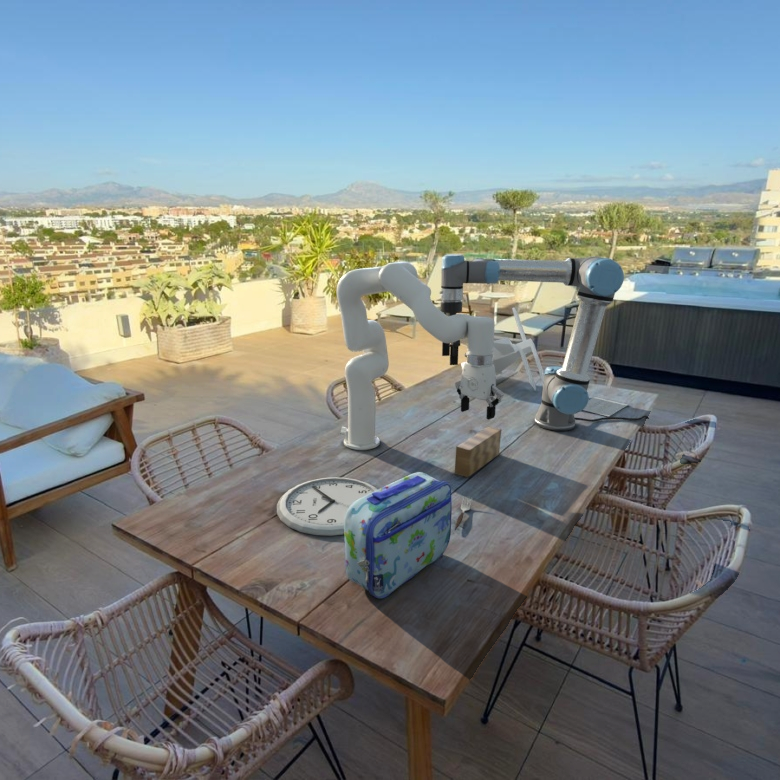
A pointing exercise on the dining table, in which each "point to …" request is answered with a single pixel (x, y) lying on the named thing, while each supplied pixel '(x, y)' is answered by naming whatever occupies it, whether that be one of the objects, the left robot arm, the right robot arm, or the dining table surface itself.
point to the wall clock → (321, 504)
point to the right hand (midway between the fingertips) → (449, 360)
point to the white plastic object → (515, 353)
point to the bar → (477, 451)
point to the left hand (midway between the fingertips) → (477, 414)
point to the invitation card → (603, 406)
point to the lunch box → (397, 532)
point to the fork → (464, 508)
